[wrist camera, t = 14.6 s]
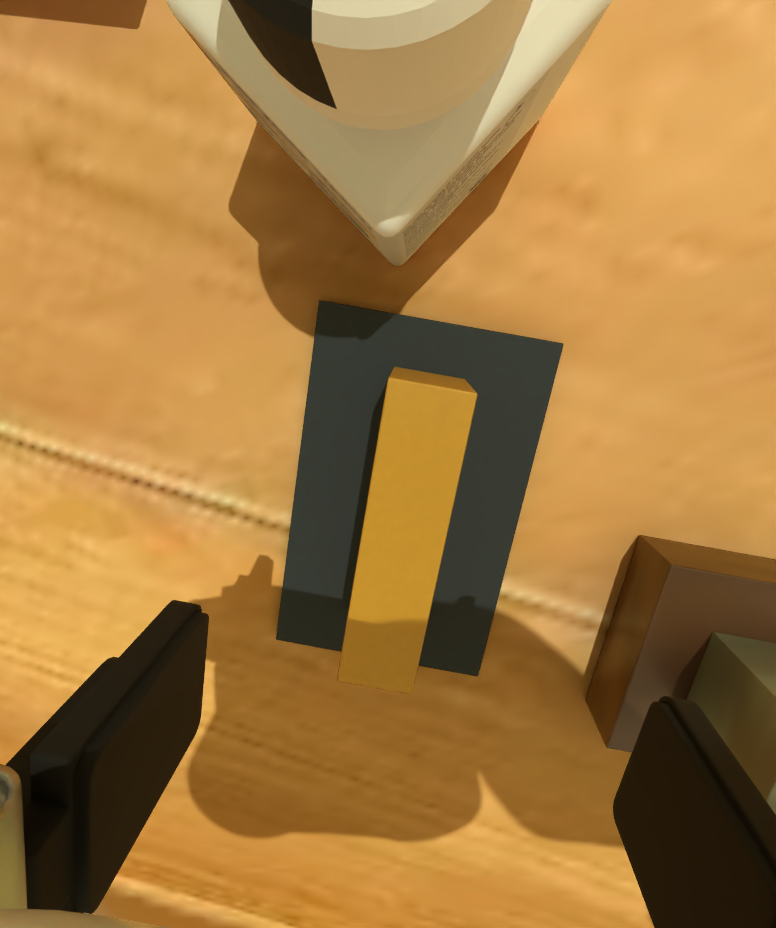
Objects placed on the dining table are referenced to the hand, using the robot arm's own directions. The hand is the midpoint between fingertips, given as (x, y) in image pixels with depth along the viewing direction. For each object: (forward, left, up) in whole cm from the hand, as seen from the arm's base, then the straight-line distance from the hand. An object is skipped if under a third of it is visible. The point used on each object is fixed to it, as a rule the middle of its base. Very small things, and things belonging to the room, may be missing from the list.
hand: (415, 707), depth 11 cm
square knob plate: (+4, +15, -13) cm, 20 cm away
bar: (0, -1, -13) cm, 13 cm away
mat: (0, 0, -13) cm, 13 cm away
